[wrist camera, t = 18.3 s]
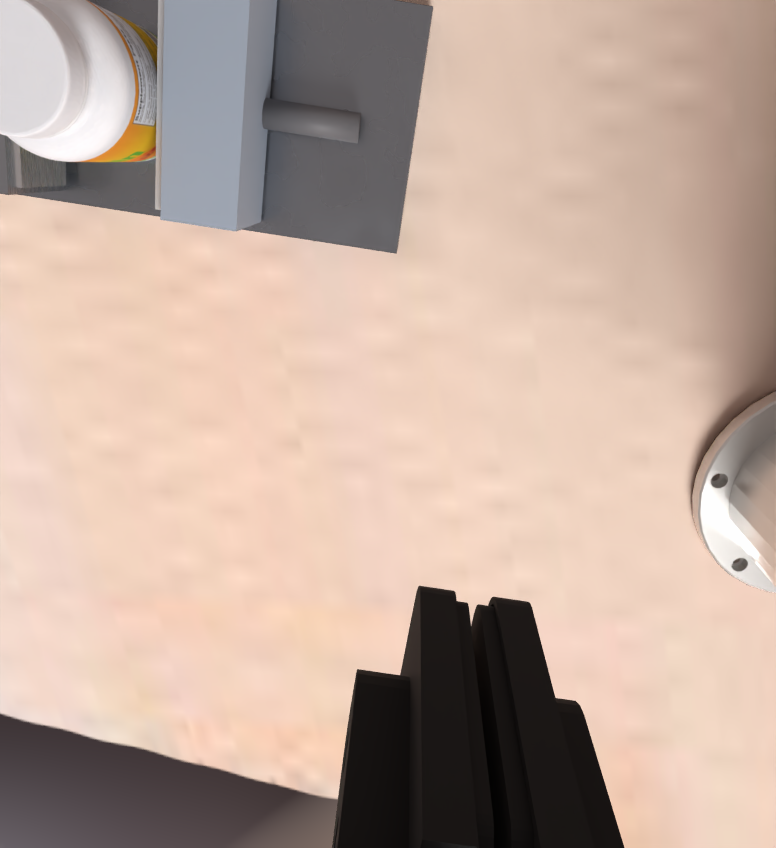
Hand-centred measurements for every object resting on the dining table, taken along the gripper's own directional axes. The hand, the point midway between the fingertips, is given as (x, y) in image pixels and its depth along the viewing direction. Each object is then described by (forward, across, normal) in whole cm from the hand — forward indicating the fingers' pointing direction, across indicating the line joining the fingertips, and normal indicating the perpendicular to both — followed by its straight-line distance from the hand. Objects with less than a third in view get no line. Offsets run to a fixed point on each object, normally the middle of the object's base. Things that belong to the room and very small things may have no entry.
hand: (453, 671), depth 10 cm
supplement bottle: (+24, +14, -8) cm, 29 cm away
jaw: (+23, +8, -8) cm, 26 cm away
